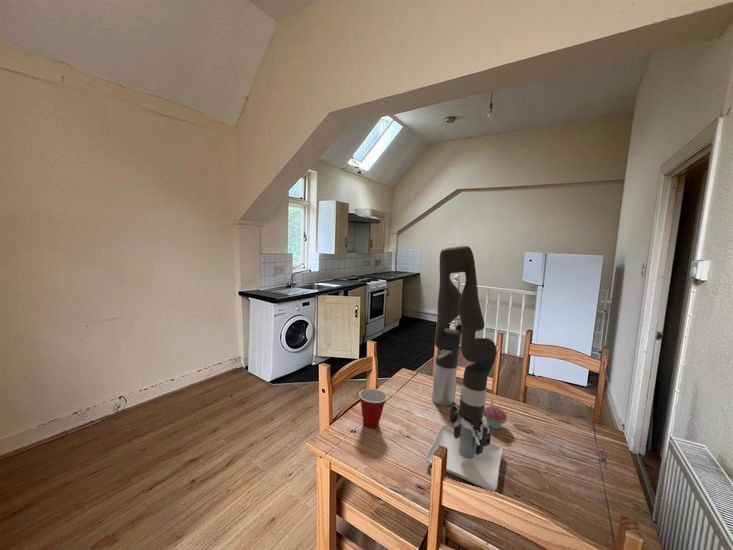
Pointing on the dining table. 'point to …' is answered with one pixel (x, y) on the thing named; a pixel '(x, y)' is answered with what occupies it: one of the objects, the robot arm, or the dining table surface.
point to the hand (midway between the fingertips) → (467, 445)
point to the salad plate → (469, 460)
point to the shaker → (467, 441)
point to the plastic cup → (372, 406)
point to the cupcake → (494, 416)
